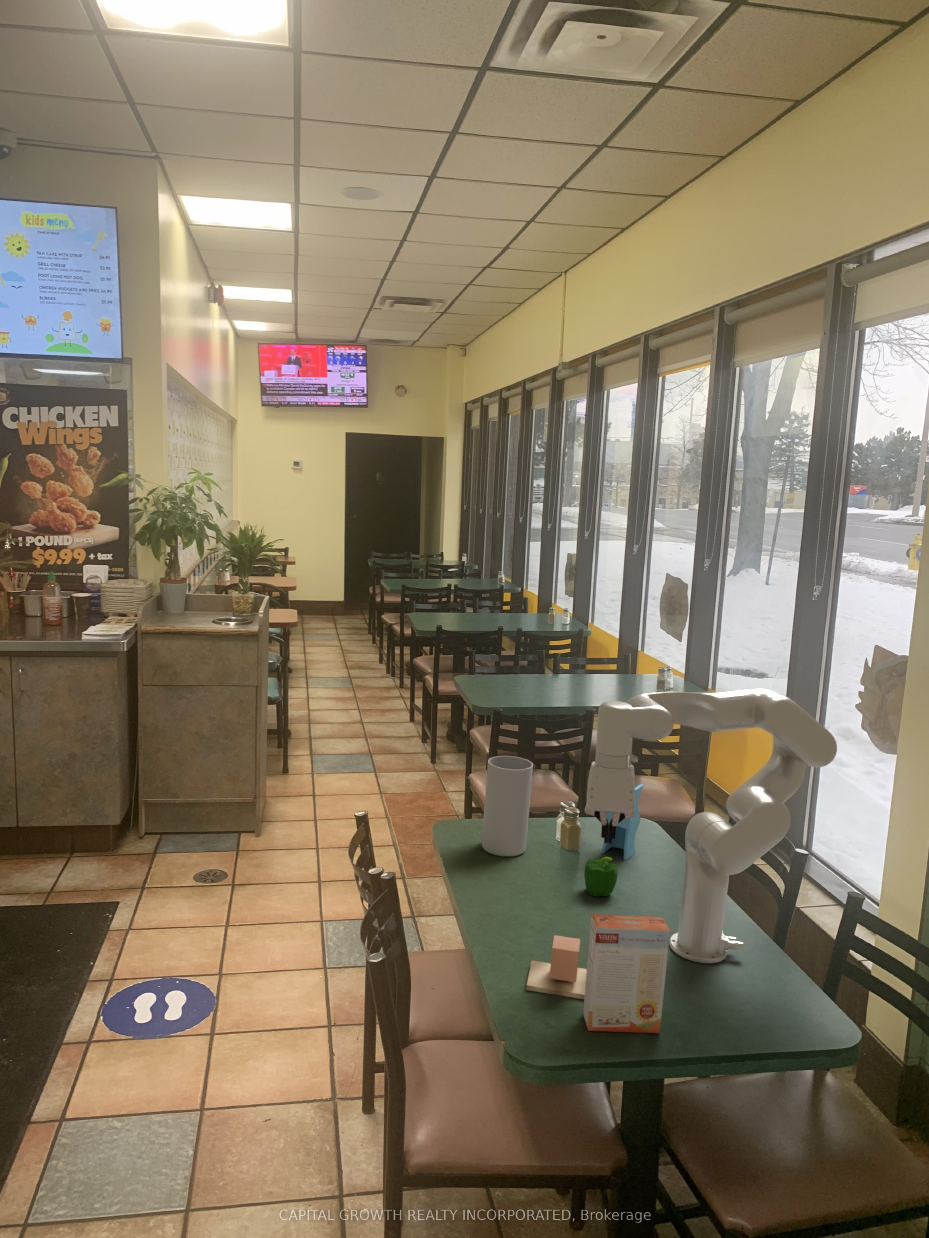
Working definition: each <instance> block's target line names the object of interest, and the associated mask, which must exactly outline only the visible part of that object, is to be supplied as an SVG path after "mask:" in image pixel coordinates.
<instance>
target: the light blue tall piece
mask: <svg viewBox="0 0 929 1238" xmlns="http://www.w3.org/2000/svg"><path fill="white" fill-rule="evenodd" d="M643 788H644V784H642V783H641V784H639V785H637V786H635V805H634V812H635V817H633V818H627V819H626V818H625V819H623V820H622V821H621V822H620V823H618V825H617V826H616V835H615V839H612V844H609V843H604V842H603V844H602V847H601V849H600V853H601V854H605V853H606V852H607V851H608V850H609V849H610V848H619V849H621V850H623V860H625V861H627V860H629V859H630V858H631V857H633V856H634V854H636V845H635V843H636V842H635V841H636V835H637V831H638V828H639V825H640V823H641V815H640V812H639V801H640V795H641V793H642V790H643ZM612 816H613V812H606V818H607V819H608V822H610V820H611V819H612ZM608 834H609V831H608Z"/></svg>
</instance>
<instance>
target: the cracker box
mask: <svg viewBox="0 0 929 1238" xmlns="http://www.w3.org/2000/svg"><path fill="white" fill-rule="evenodd" d="M670 934H671V930H670V928H669V927H668V925H667V923H666V921H665V919H664V918H663V917H659V916H655V917H654V916H641V915H639V916H637V915H634V916H633V915H614V914H613V915H612V914H596V913H595V914H591V919H590V931H589V941H588V942H589V943H588V951H587V952H588V955H587V962H586V963H587V965H586V969H587V975H586V986H585V997H584V999H583V1009H582V1010H583V1011H582V1014H583V1018H584V1022H585V1025H586V1029H587V1031H588V1032H590V1031H591V1032H614V1033H615V1032H616V1033H617V1032H618V1033H645V1034H661V1024H662V1014H663V1013H662V1012H663V1003H664V997H665V996H664V993H665V985H666V976H667V974H666V973H667V963H668V955H669V947H670V938H671V936H670Z"/></svg>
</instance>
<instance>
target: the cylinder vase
mask: <svg viewBox="0 0 929 1238" xmlns="http://www.w3.org/2000/svg"><path fill="white" fill-rule="evenodd" d="M533 771H534V763H533V762H532V761H530V760H529V759H526V758H522V757H519V756H512V755H498V756H493V757H489V759H488V760H487V769H486V783H485V793H484V794H485V795H484V805H483V806H484V808H483V820H482V831H481V832H482V834H481V836H482V837H481V847H482V849H483V850H484V851H485V852H487V853H488V854H491V855H494V856H497V857H517V856H520V855H522V854H523V853H525V852H526V849H527V839H528V829H529V827H528V826H529V818H530V817H529V816H530V805H531V793H532V780H533Z"/></svg>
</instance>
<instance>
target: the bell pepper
mask: <svg viewBox="0 0 929 1238" xmlns="http://www.w3.org/2000/svg"><path fill="white" fill-rule="evenodd" d="M612 860H613V858H612V857H609V856H604V857H602V858H600V859H593V858H589V859H588V861H587V862H586V863H585V865H584V866H585V867H584V871H583V872H584V874H583V875H584V885H585V890H586V892H587V893H588V894H589V895H590V896H592V897H601V896H603V897H608V896H610V895H611V894H612V893H613V892H614V888H615V887H616V884H617V881H618V880H617V879H618V870H619V869H618V866H617V864H615V863H613V862H612ZM611 862H612V863H611Z"/></svg>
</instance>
